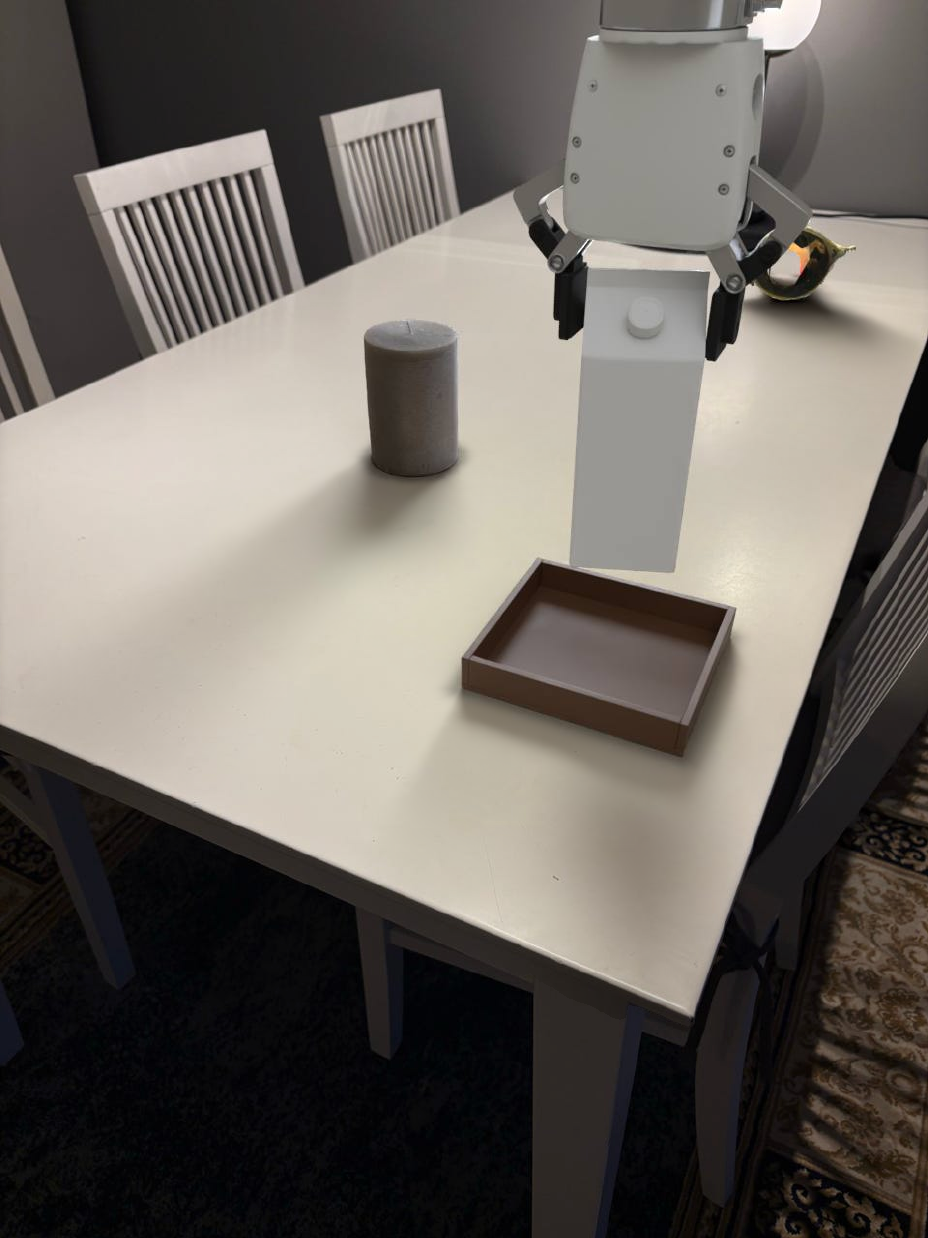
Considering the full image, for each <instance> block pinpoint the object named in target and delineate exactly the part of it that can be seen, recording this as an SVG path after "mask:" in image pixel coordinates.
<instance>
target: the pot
mask: <svg viewBox="0 0 928 1238" xmlns="http://www.w3.org/2000/svg"><path fill="white" fill-rule="evenodd" d="M773 231H774V229H772V230H771V231H770V232H768V233H767V234H766V235H765V236H763V237H762V238H761V239H760V240H759V241H758V243H757V245H756V246H755V248H754V250H755V249H756V248H757V247H758V246H760V245H761V244H762V243H763V242H765V241H766V240H767V239H768V238H769V236H770V235H771V234H772V232H773ZM857 249H858V246H857V245H849V246H844V245H840V244H838V243H837V242H835V241H832V240H831V239H830V238H828V237H826V236H825V235H824V234H823V233H822V232H821V231H819V230H818V229H816V228H814V227H811V226H808V225H807V226H806V227H805V229H804V230H803V231H802V232H801V233H800V235H799V236H798V237H797V238H796V239H795V241H794V242H793V243H792V244H791V246H790V247H789V248H788V249H787V250H788V251H791V252H794V253H796V254H797V256H798V258H799V273H798V278H797V279H796V281H795V283H794V284H793V285H789V286H785V287H782V286H781V285H779V284H778V283H777V282H776V281H775V280H773V279H772V278H771V270H772V267H770V268H769V269H768V270H767V271H765V272H764V273H763V274H761V275H760V276H759V277H757V278H756V279H755V280H754V281H752V282H751V283H750V284H749V285H750V286H751V287H754V286H755V287H757V288H758V289H759V290H760V292H761V293H763V294H764V295H767V296H769V298H770V297H771V298H773V299H776V300H780V301H790V300H800V299H802V298H806V297H808V296H810V295H811V293H814V292H815V291H816V290H818V288H819V286H820V285H823V283H824V282H825V280H826V278H827V277H828V276H829V274H830V273H831V272H832V271H833V269H834V266H835V264H836V263H837V262H838V260H839V259H841V258H843V257H844V256H846V253H850V252H852V251H855V252H856V251H857Z"/></svg>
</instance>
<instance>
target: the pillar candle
mask: <svg viewBox="0 0 928 1238" xmlns="http://www.w3.org/2000/svg"><path fill="white" fill-rule="evenodd" d="M459 336H460V334H459V332H458V330H457V331H456V330H455V329H454V328H453V327H451V326H449V325H447V324H446V323H445V324H444V323H442V322H441V323H440V322H437V321H432V320H427V319H426V320H424V319H418V318H417V319H416V318H407V319H406V318H405V319H399V320H391V321H386V322H381V323H378V324H375V325H372V326H371V327H370V328H368V329H367V330H366V331H365V332H364V334H363V350H364V351H363V352H364V367H365V369H364V371H365V382H366V385H365V386H366V398H367V399H366V402H367V416H368V426H369V436H370V437H369V438H370V451H371V456H370V457H371V461H372V463H373V465H374V466H375V467H376V468H378V469H380V470H382V471H383V472H386V473H387V474H391V475H394V476H406V477H422V476H428V475H435V474H439V473H441V472H443V471H446V470H448V469H449V468H451V467H452V466H454V464H455V463H456V462H457V460H458V458H459V376H458V375H459V371H458V370H459V363H458V360H459V359H458V339H459Z"/></svg>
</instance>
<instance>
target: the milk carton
mask: <svg viewBox="0 0 928 1238" xmlns="http://www.w3.org/2000/svg"><path fill="white" fill-rule="evenodd" d="M710 276H711V270H709V269H671V268H670V269H666V268H664V269H663V268H660V269H659V268H622V267H621V268H619V267H618V268H615V267H589V268H588V273H587V289H586V303H585V316H584V327H583V328H582V345H581V357H580V375H579V377H580V378H579V390H578V391H579V392H578V411H577V425H576V441H575V442H576V444H575V459H574V473H573V474H574V478H573V492H572V493H573V494H572V508H571V511H572V512H571V528H570V541H569V543H570V545H569V560H568V561H569V562H568V565H570V566H572V567H578V568H582V569H602V570H617V571H630V572H631V571H632V572H633V571H634V572H647V573H649V572H650V573H663V574H664V573H667V574H672V573H673V574H674V572H675V570H676V564H677V556H678V551H679V543H680V536H681V529H682V522H683V516H684V507H685V501H686V496H687V495H686V493H687V487H688V480H689V474H690V473H689V472H690V465H691V459H692V453H693V452H692V451H693V445H694V439H695V430H696V423H697V417H698V409H699V402H700V397H701V396H700V395H701V389H702V383H703V382H702V381H703V374H704V367H705V359H706V358H705V346H706V335H707V324H708V321H707V319H708V316H707V315H708V300H709V299H708V298H709V297H708V295H709V285H710Z"/></svg>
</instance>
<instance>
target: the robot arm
mask: <svg viewBox="0 0 928 1238" xmlns="http://www.w3.org/2000/svg"><path fill="white" fill-rule="evenodd" d="M783 1H784V0H600V7H599V27H598V35H592V36H590V37H589V36H588V37H587V39H586V42H585V46H584V50H583V54H582V58H581V63H580V68H579V72H578V77H577V81H576V88H575V93H574V98H573V104H572V110H571V115H570V121H569V129H568V137H567V146H566V154H565V158H562V160H560V161H559V162H557V163H555V164H554V165H552V166H551V167H549V168H547V169H545V170H544V171H542V172H540V173H539V174H537V175H535V176H534V177H533V178H531V179H530V180H528V181H526V182H525V183H523V184H521V185H520V186H518V187H516V188H515V189H514V191H513V193H512V198H513V201H514V203H515V206H516V207H517V209H518V212H519V214H520V216H521V218H522V220H523V222H524V224H526V226H527V228H528V236H529V238H530V240H531V241H532V242H533V244H534V245H535V246H536V248H537V249H538V250H539V251H540V253H541V254H542V255H543V256H544V258H545V259H546V263H547V267H548V269H549V270H550V272H552V273H554V279H553V281H554V283H553V305H552V317H553V320H554V321H555V322H558V331H557V334H558V335H557V337H558V340H561V341H569V340H570V339H572V338H573V337H575V336H576V335H577V334H578V333H579V332H580V331H581V330H583V329H584V316H585V303H586V289H587V273H588V268H590V267H589V265H588V261H584V256H583V255H584V254H585V252H586V251H587V250H588V249H589V248H590V246H591V245H592V243H593V242H594V241H598V242H606V243H614V244H623V245H625V244H626V245H634V246H643V247H654V248H663V249H672V250H673V249H674V250H685V251H695V252H696V251H697V252H698V251H700V252H705V254H706V256H707V258H708V260H709V262H710V264H711V265H712V268H713V269H714V271H715V273H716V275H717V277H718V278H719V279H718V280H719V286H718V287H717V288H716V289H715V290H714V292H713V293H712V295H711V300H710V306H709V307H710V308H709V314H708V321H707V327H706V346H705V359H706V361H707V362H714V363H715V362H717V360H718V359H719V357H721V355H722V353H723V352H724V351H725V349H726V347H727V346H728V345H734V344H735V343H736V342H737V338H738V336H739V332H740V327H741V326H740V325H741V318H742V313H743V307H744V301H745V294H746V287H747V286H748V285H750V283H751V282H752V281H754V280H755V279H756V278H757V277H759V276H760V275H761V274H763V273H764V272H765V271H767V270H768V271H769V268H770V267H771V268H772V267H773V266H774V265H776V264H777V263H778V262H779V261H780V259H781V258H782V256H783V255H784V254H785V253H787V250H789V249H788V248H789V247H790V246H791V244H792V243H793V242H794V241H795V239H796V238H797V237H798V236H799V235H800V233H801V232H802V231H803V230H804V229H805V227H806V226H808V225H809V224H810V222H811V220H812V219H813V215H814V214H813V213H814V212H813V209H812V208H811V206H810V205H808V204H807V203H805V202H804V201H803V200H802V199H801V198H799V197H798V196H797V195H795V194H794V193H793V192H791V191H790V190H789V189H788V188H786V187H785V186H784V185H782V184H781V183H780V182H779V181H778V180H777V179H775V178H774V177H773V176H771V175H770V174H769V173H768V172H766V171H765V170H764V169H763V168H761V167H760V166H759V157H760V150H761V149H760V148H761V138H762V127H763V116H764V115H763V113H764V99H765V98H764V97H765V65H766V63H765V62H766V61H765V38H764V37H763V36H759V35H749V28H750V26H749V25H751V24H753V22H754V18H755V17H757V16H758V14H764V13H765V11H766V10H781V8H782V6H783ZM561 188H562V218H563V224H564V226H565V227H566V229H567V230H568V231H567V232H565V231H564V230H563V228H562V227H561V226H560V224H559V223H558V221H557V220H556V219H555V218H554V217H553V216H551V214H550V212H549V208H548V205H547V199H548V196H550V194H553V193H554V192H556V191H557V190H559V189H561ZM754 204H755V205H756V206H757V207H758V208H760V209H761V210H763V211H764V213H766V214H768V215H769V216H770V217H771V218H772V219H773V220H774V222H775V223H774V224H775V228H774V229H773V230H774V231H773V232H772V234H771V235H770V236H769V238H768V239H767V240H766V241H765V242H763V243H762V244H761V245H760V246H758V247H757V248H756V247H755V248H756V249H755V248H754V250H752V251H751V252H750V253H749V252H748V250H747V247H746V246H745V244H744V242H743V240H742V239H741V237H740V234H739V232H741V230H743V229H745V228H746V227H747V225H748V224H749V221H750V218H751V215H752V212H753V207H754V206H753V205H754Z"/></svg>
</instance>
